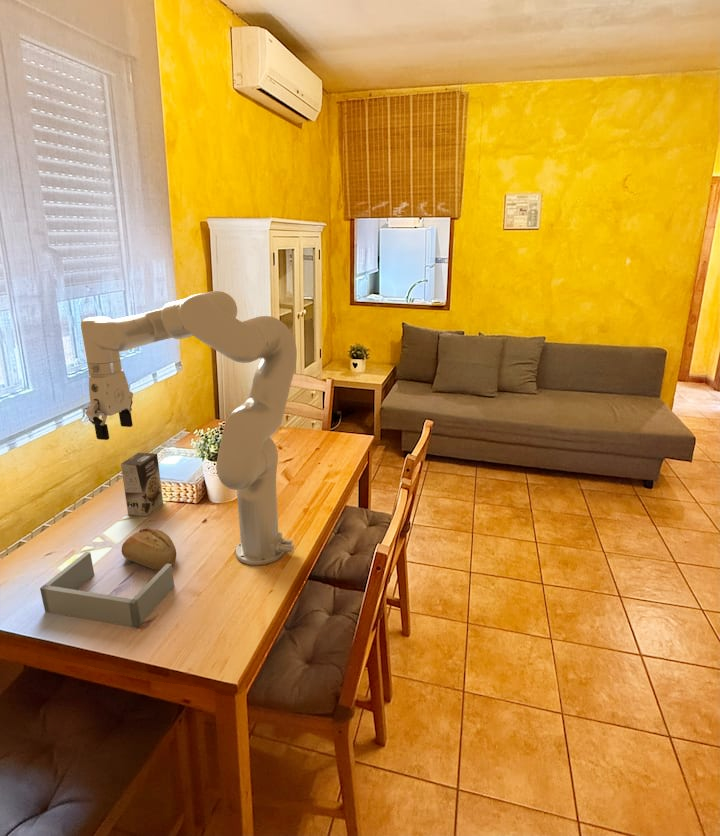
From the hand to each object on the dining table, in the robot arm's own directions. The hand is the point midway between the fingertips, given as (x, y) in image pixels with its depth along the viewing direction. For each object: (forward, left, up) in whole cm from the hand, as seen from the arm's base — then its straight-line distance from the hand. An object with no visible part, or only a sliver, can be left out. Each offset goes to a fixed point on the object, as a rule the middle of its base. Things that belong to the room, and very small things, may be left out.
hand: (115, 432), depth 140 cm
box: (-14, +27, -29) cm, 41 cm away
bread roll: (-14, +12, -29) cm, 34 cm away
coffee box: (+3, -12, -29) cm, 31 cm away
